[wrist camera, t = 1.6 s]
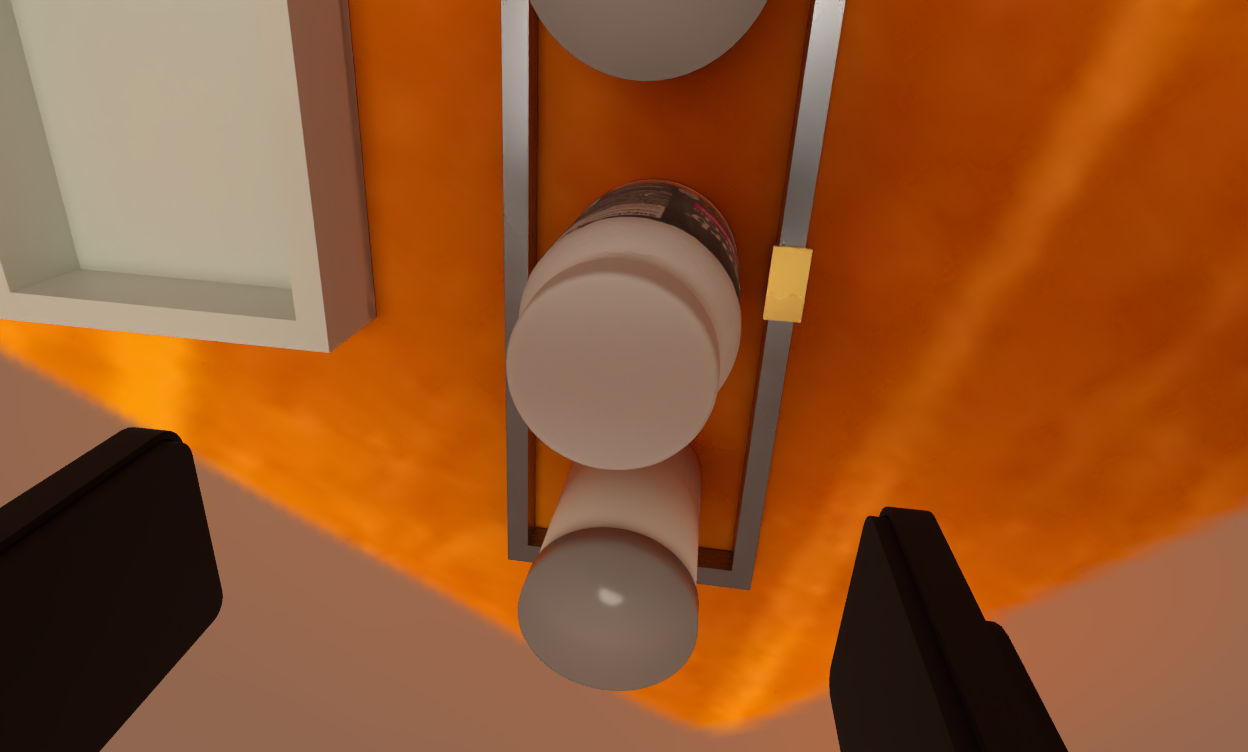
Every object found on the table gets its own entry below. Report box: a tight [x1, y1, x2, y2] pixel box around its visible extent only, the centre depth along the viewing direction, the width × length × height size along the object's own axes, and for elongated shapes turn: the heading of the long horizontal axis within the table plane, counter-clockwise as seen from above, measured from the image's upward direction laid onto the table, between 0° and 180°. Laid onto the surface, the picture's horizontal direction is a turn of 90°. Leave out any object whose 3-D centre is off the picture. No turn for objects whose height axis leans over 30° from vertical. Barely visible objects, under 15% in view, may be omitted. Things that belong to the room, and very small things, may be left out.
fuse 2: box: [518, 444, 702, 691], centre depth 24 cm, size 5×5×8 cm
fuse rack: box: [501, 0, 846, 590], centre depth 24 cm, size 10×25×1 cm, turn 177°
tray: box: [0, 0, 376, 353], centre depth 23 cm, size 12×12×4 cm
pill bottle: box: [506, 179, 741, 470], centre depth 20 cm, size 6×6×10 cm
